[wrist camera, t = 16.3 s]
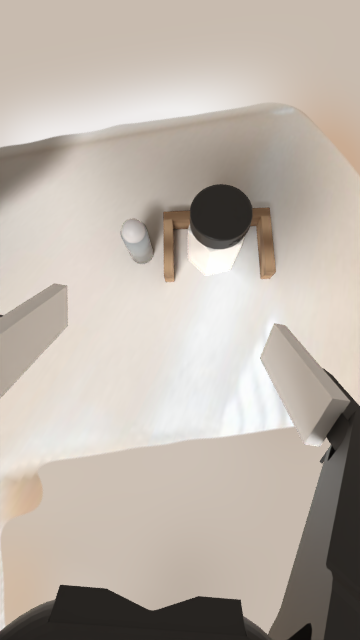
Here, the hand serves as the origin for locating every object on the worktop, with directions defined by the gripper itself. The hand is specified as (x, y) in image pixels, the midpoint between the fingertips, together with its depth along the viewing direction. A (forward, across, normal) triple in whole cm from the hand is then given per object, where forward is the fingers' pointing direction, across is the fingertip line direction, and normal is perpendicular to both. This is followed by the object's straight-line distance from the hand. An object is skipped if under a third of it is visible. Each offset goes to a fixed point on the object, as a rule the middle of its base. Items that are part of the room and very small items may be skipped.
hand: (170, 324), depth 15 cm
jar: (+30, +6, 0) cm, 31 cm away
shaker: (+30, -6, -2) cm, 31 cm away
